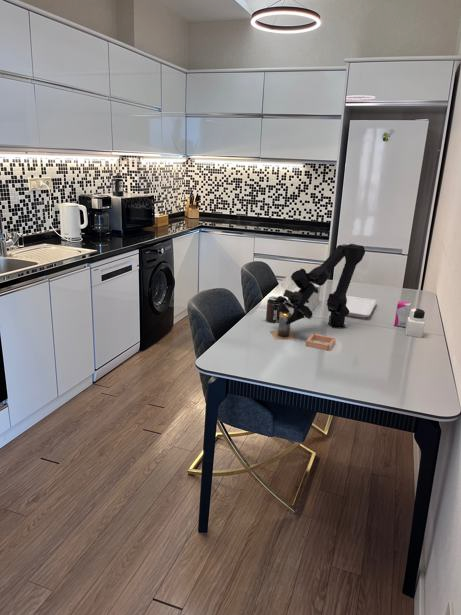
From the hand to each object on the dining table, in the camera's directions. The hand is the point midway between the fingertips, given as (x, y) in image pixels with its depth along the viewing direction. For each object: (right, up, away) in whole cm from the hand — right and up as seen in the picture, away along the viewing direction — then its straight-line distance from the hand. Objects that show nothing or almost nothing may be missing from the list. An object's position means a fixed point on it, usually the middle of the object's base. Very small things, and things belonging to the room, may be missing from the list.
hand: (282, 322), depth 198 cm
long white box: (+16, +6, +45) cm, 48 cm away
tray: (+45, +4, +47) cm, 65 cm away
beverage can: (-2, -1, +21) cm, 21 cm away
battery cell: (+1, -6, +3) cm, 6 cm away
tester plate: (+1, -7, +3) cm, 7 cm away
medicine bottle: (+63, -6, +15) cm, 65 cm away
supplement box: (+61, -3, +27) cm, 66 cm away
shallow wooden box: (+15, -10, -5) cm, 19 cm away
